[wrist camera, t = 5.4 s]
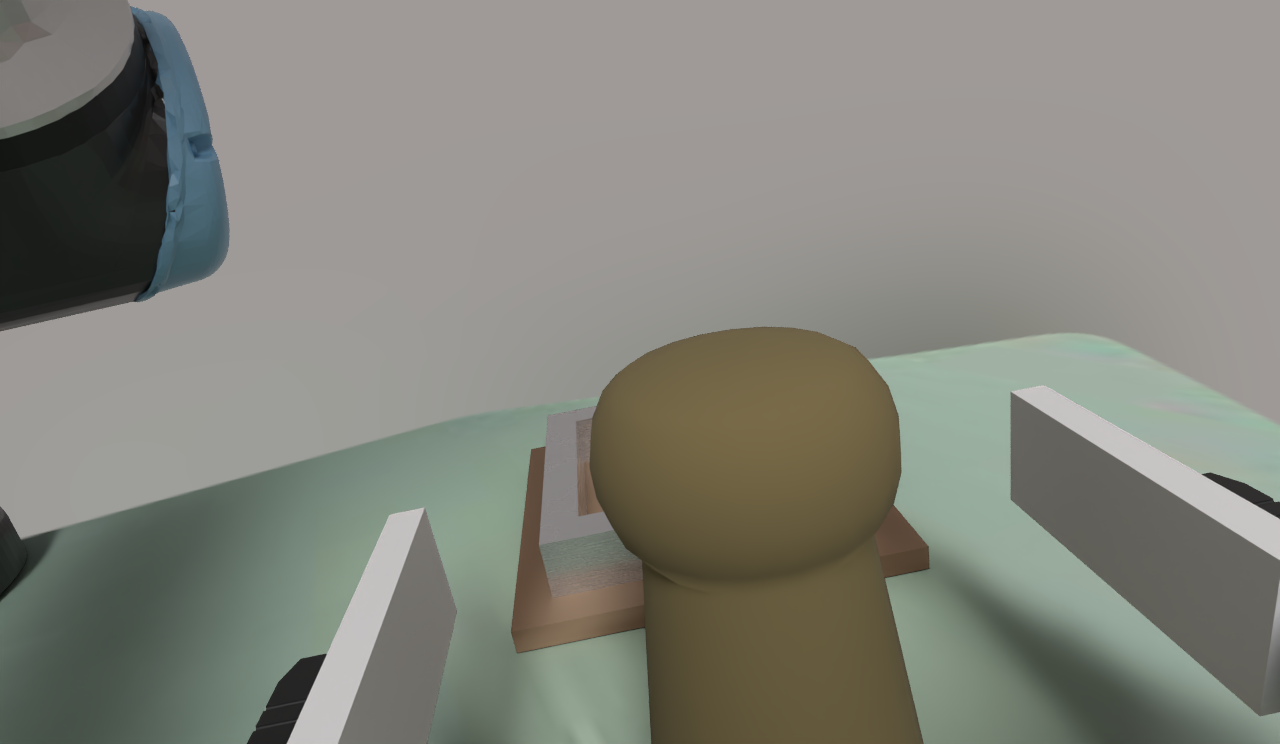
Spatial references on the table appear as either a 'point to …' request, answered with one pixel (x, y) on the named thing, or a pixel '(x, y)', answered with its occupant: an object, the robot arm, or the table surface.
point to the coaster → (606, 548)
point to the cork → (759, 536)
